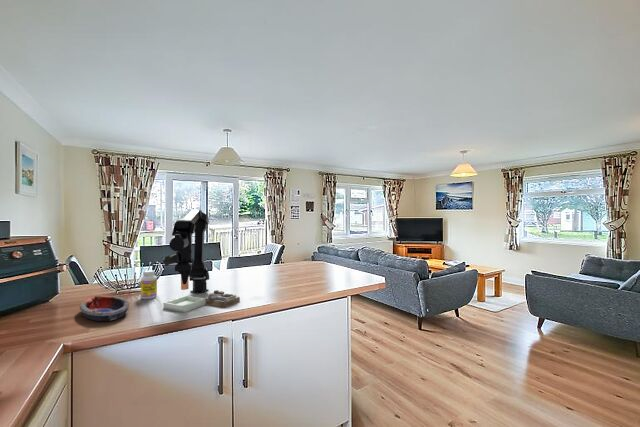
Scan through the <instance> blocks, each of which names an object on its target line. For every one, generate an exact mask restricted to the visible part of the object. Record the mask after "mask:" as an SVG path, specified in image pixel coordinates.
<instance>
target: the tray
mask: <svg viewBox="0 0 640 427" xmlns="http://www.w3.org/2000/svg"><path fill="white" fill-rule="evenodd" d="M204 298H205V297H198V296H192V295H187V294H186V295H184V296H183V295H182V296H180V297H177V298H174V299H172V300H168V301H164V302H162V303H163V304H162V307H163V310H169V311H174V312H177V313H187V312H189V311H191V310H193V309H197V308H200V307H202V306H204V305H207V304H206V299H204Z"/></svg>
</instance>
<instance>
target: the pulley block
mask: <svg viewBox="0 0 640 427" xmlns="http://www.w3.org/2000/svg"><path fill="white" fill-rule="evenodd" d="M203 298H204V299H206V304H205V305H207V304H208V305H207V306H214V307H219V308H226V307H228V306H232V305H234V304H236V303H238V302H241V301H240V300H241V298H240V296H237V294H233V293H225V291H223V290H217V289H216V290H214V291H213V290H212V291H211V292H208V294H207V296H206V297H203Z"/></svg>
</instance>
